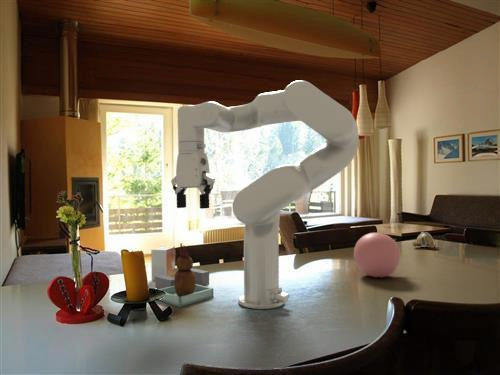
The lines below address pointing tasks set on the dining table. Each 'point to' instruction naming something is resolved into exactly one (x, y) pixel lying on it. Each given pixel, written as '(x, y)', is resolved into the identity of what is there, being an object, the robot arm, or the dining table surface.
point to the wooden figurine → (184, 274)
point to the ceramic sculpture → (424, 240)
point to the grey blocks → (168, 281)
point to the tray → (187, 296)
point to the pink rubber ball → (376, 255)
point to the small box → (163, 261)
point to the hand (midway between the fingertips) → (192, 208)
